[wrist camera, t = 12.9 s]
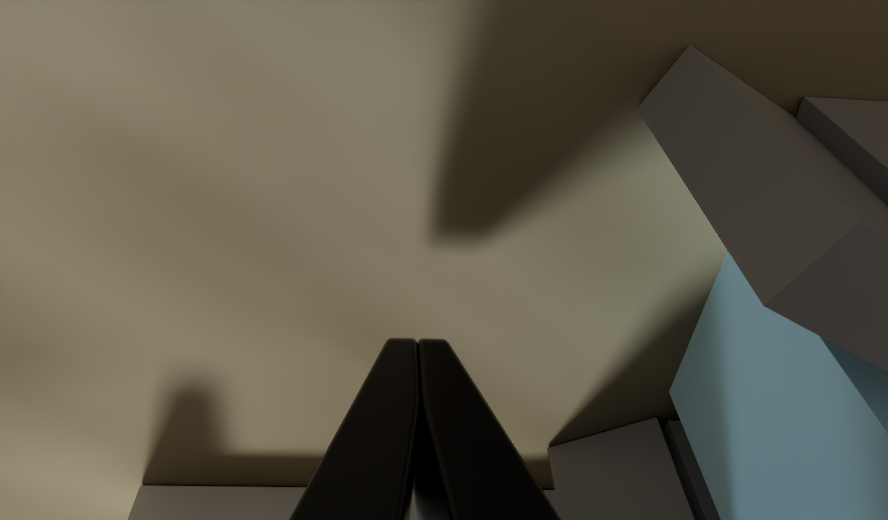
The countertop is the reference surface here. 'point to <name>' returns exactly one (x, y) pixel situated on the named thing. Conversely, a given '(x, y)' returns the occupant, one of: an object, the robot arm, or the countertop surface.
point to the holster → (230, 503)
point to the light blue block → (780, 414)
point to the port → (752, 258)
